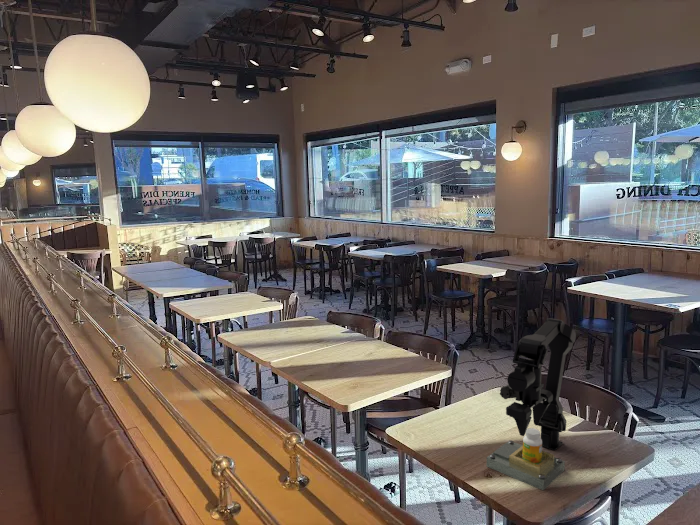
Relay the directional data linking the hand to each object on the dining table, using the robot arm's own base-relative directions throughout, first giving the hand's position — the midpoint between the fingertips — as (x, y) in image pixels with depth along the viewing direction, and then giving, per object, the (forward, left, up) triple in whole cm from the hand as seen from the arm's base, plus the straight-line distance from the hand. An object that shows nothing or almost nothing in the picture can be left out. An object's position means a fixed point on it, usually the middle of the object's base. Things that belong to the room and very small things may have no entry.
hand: (529, 429), depth 154 cm
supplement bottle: (+1, +1, -10) cm, 10 cm away
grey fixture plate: (+1, -1, -12) cm, 12 cm away
